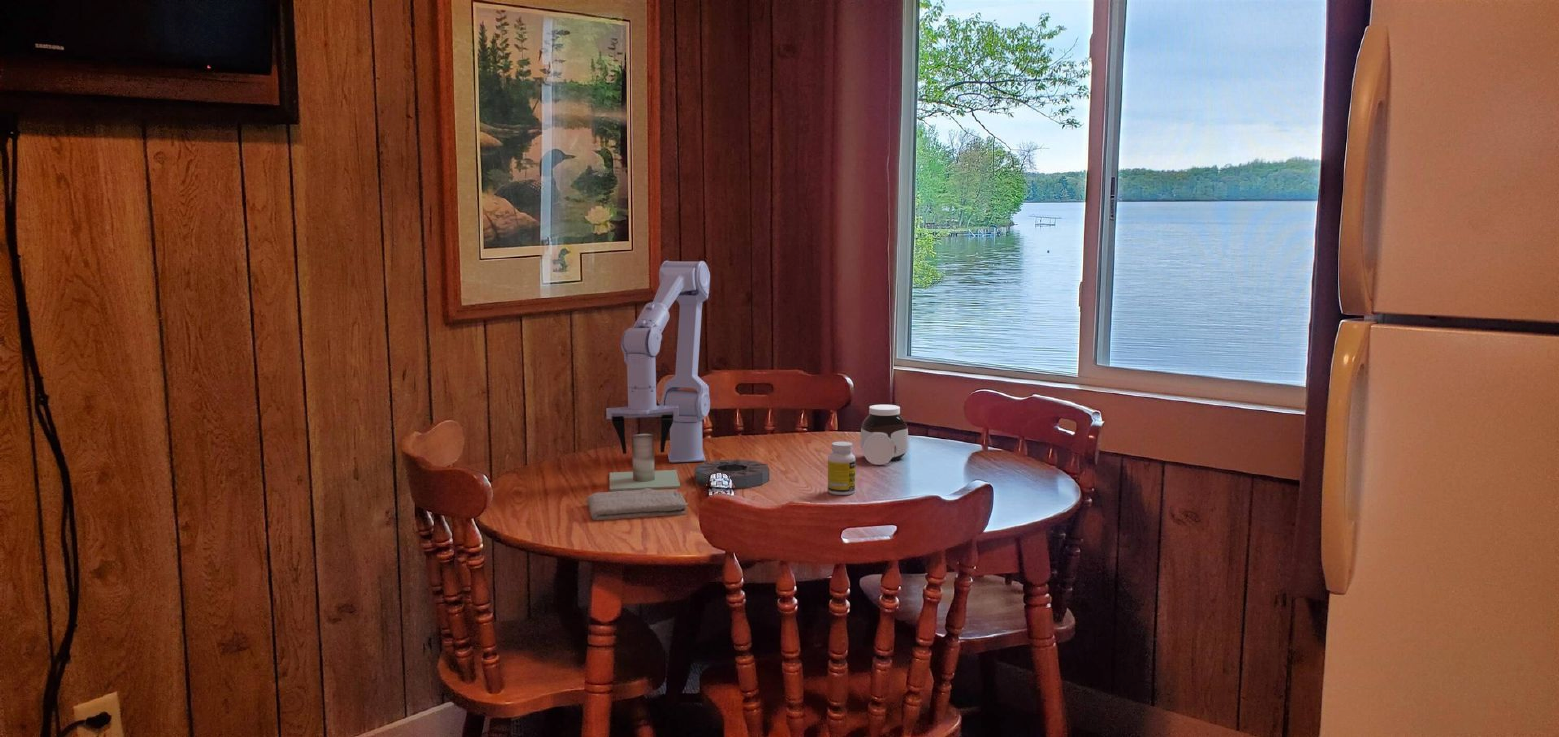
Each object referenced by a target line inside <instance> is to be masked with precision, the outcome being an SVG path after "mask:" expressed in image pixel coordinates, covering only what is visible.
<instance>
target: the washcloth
mask: <svg viewBox="0 0 1559 737" xmlns="http://www.w3.org/2000/svg"><path fill="white" fill-rule="evenodd" d="M585 502H586V505H587V507H588V509H589V514H590V517H591V519H592V520H593V521H608V520H611V521H612V520H620V519H621V520H622V519H625V520H627V519H638V518H651V517H652V518H653V517H669V516H684V515H686V514H687V508H686V507H687V506H688V505H689V503H688V502H686V500H685V498H684V497H683V494H682V492H680V491H677V490H676V489H675V488H670V489H665V490H664V489H650V488H646V489H642V490H618V491H608V492H607V491H606V492H595V493H591V494H590V495H588V496H587V498H586V499H585Z"/></svg>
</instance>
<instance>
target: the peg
mask: <svg viewBox="0 0 1559 737" xmlns="http://www.w3.org/2000/svg"><path fill="white" fill-rule="evenodd" d="M654 437H655V436H654V434H650V433H639V434H633V435H632V436H631V451H632V452H631V453H632V454H631V457H632V472H633V480H634V481H638V482H647V481H652V480H654V479H655V471H656V470H655V444H654V443H655V441H654V439H655V438H654Z"/></svg>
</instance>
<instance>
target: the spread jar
mask: <svg viewBox="0 0 1559 737" xmlns="http://www.w3.org/2000/svg"><path fill="white" fill-rule="evenodd" d="M868 409H869V411H868V413H869V415H867V417H865V419H864V420H863V422H862V423H861V427H860V446H861V451H862V453H863V456H864V458H865V459H866V461H867V462H869V463H870V464H872V465H876V466H883V465H885V464H887V463H889V461H891V462H896V461H895V460H897V461H899V460H900V459H901V458H903V457H904V456H905V455H906V453H907V451H908V445H909V444H908V443H909V431H908V429H909V428H908V425H907V423H906V421H905V420H904V418H903V417H902V416H901V415H900V414H901V407H900V406H899V405H895V404H874V405H869V407H868Z"/></svg>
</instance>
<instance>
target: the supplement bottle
mask: <svg viewBox="0 0 1559 737" xmlns="http://www.w3.org/2000/svg"><path fill="white" fill-rule="evenodd" d="M831 452H832V453H830V454H829V455H828V457H827V492H828V493H829V494H831V495H835V496H849V495H852V494H854V493H855V492H856V456H855V455H854V454H853V453H852V452H853V443H852V442H849V441H834V442H832V443H831Z"/></svg>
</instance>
